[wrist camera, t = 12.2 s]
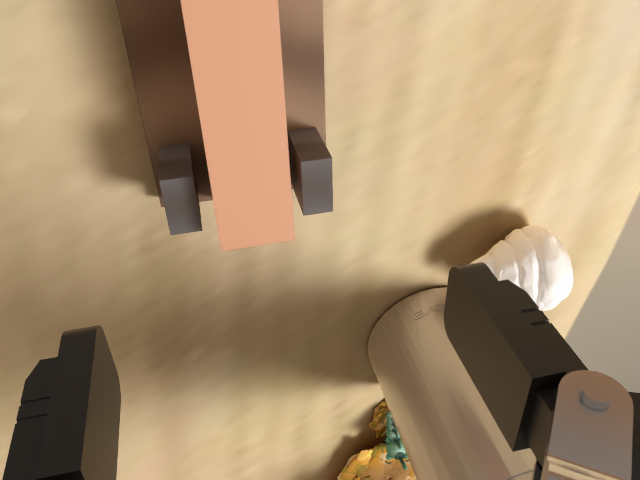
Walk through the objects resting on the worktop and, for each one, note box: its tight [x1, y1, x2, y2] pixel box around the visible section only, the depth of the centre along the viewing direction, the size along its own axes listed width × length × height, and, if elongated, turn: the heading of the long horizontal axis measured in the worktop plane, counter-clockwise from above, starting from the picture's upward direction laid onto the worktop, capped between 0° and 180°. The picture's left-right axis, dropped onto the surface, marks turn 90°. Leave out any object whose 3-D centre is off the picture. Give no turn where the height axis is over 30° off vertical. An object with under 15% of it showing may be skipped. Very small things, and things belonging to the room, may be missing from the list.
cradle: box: [116, 0, 333, 235], centre depth 27 cm, size 15×9×4 cm, turn 2°
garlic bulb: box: [470, 225, 573, 311], centre depth 38 cm, size 6×6×5 cm
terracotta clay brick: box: [181, 0, 295, 251], centre depth 25 cm, size 4×16×5 cm, turn 2°
